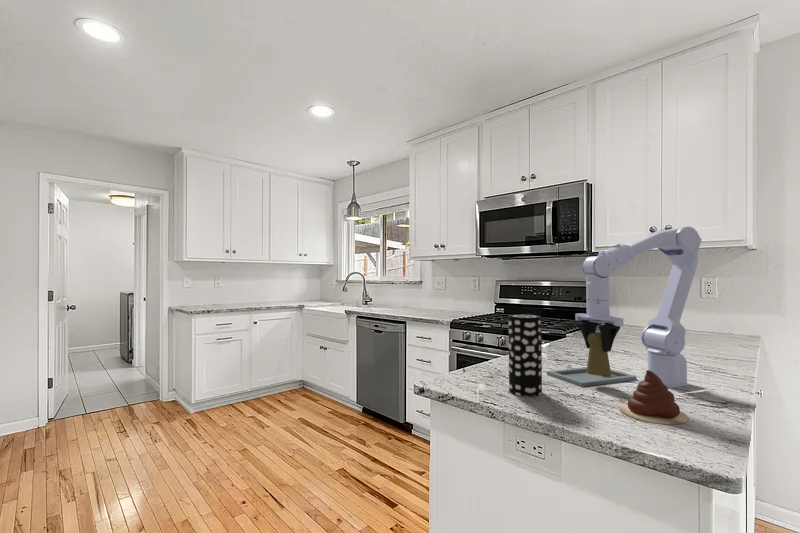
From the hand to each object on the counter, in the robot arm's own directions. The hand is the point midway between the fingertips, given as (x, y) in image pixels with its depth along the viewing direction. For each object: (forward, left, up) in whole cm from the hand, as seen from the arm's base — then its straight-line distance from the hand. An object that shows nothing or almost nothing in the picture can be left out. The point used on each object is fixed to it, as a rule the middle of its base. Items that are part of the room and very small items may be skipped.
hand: (598, 349), depth 113 cm
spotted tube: (+21, -4, -11) cm, 24 cm away
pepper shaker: (+1, 0, -7) cm, 7 cm away
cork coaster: (+5, +20, -10) cm, 23 cm away
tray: (-5, -8, -10) cm, 14 cm away
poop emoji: (+5, +20, -10) cm, 23 cm away
